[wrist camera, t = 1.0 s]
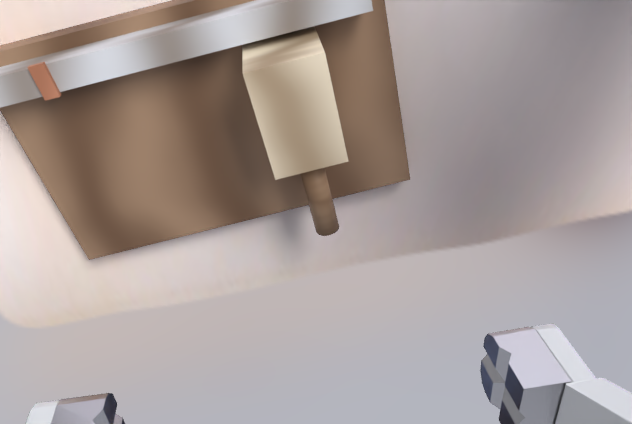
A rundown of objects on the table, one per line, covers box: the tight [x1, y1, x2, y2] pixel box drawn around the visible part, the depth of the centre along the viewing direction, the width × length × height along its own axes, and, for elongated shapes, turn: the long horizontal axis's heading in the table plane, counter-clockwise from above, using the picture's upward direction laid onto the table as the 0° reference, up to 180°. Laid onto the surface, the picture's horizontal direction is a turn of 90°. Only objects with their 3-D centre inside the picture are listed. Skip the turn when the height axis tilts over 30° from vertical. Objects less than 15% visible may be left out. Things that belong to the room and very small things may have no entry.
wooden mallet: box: [242, 26, 348, 236], centre depth 31 cm, size 4×11×5 cm, turn 13°
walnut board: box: [0, 0, 410, 260], centre depth 32 cm, size 22×14×4 cm, turn 103°
